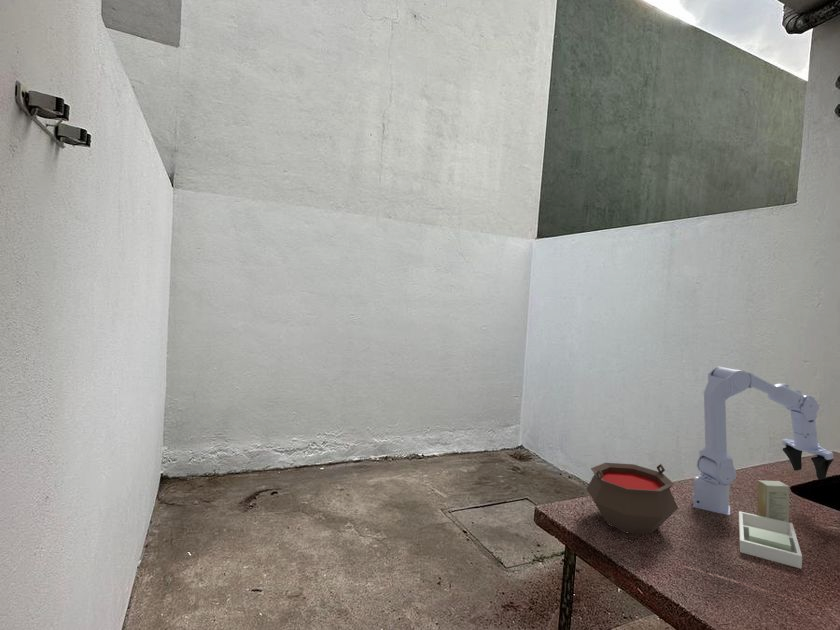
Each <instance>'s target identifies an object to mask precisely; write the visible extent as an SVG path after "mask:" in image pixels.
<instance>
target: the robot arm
mask: <svg viewBox="0 0 840 630" xmlns="http://www.w3.org/2000/svg"><path fill="white" fill-rule="evenodd" d="M752 388H753V389H755V390H758V391H761V392H763V393H765V394H767V396H768V399H770V400H771V401H773V402H775V403H777V404H780V405H781V406H783V407H785V408H786V410H788V411H789V410H790V417H791V427H792V436H793V437H792V438H793V439H791V438H790V439H789V438H783V439H782V438H781V443H782V446H784V447H783V448H782V451H783V452H784V454H785V455H786V456H787V458H788V460H789V462H790V463H791V466H792V468H793V471H796V472H798V471H801V470H802V469H803V468H802V466H803V464H802V455H803V452H805V453H807V454H808V453H809V454H811V455H815V456H813V457H810V460H811V461H812V463H813V465H814V468H815V473H816V474H815V475H816V478H817V479H818V480H820V481H822V480H825V479H826V478H827V473H828V471H829V467H830V465H831V464H832V463H833V462H834V461H835V460H834V452H832V451H829V450H827V449H825V448H823V447H821V444H819V441H818V440H819V439H818V434H817V433H818V432H817V423H816V420H817V414H818V411H819V409H820V403H818V401H817V400H816V399H815V398H814V397H812V396H810V395H806V394H803V393H802V391H801V390H797V389H793V388H790V387H789V384H787V383H783V382H782V383H774V384H772V383H770V382H769V381H767V380H765V379H763V378H761V377H759V376H758V375H755V374H754V373H751V372H748V371H745V370H740V369H734V368H729V367H725V366H716V367H714V368H712V370H711V371H709V372H708V373H707V384H706V386H705V389H704V391H703V400H704V401H703V403H704V404H703V406H704V407H703V408H704V410H703V411H704V439H705V440H704V442H705V444H704V445H705V447H704V448H703V449H701V450H699V454H698V459H697V460H696V467H697V470H698V471H699V472H700V476H697V475H695V476H694V477H693V479H694V481H693V493H692V500H693V502H692V503H693V505H692V507H693V508H697V509H701V510H703V511H709V512H713V513H717V514H720V515H721V514H722V515H726V516H731V505H729V503H730V485H732V483H733V482H734V481H735V480H736V477H737V471H736V468H735V465H734V461H733V458H732V457H731V455H730V454H729V453H728V450H727V445H728V444H727V417H726V416H727V413H726V411H727V410H726V401H727V400H728V399H729V398H731V397H733V396H735V395H737V394H739V393H742V392H744V391H746V390H747V389H752Z"/></svg>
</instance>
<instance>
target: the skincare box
mask: <svg viewBox="0 0 840 630" xmlns="http://www.w3.org/2000/svg"><path fill="white" fill-rule="evenodd" d="M756 497H757V498H756V500H757V502H756V503H757V508H756V511H757V512H756V515H758V516H763V517H767V518H771V519H776V520H780V521H784V522H789V523H790V521H789V520H790V519H789V518H790V485H788V484H785V483H784V482H782V481H780V480H765V479H763V480H762V479H761V480H759V479H758V480H757V495H756Z"/></svg>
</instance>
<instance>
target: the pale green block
mask: <svg viewBox="0 0 840 630" xmlns="http://www.w3.org/2000/svg"><path fill="white" fill-rule="evenodd" d="M749 541H750V542H754V543H758V544H762V545H766V546H770V547H774V548H777V549H781V550H785V551H789V552H790V549H791V544H790V540H789V536H788V535H784V534H780V533H775V532H771V531H767V530H763V529H759V528H755V527H751V526H749Z"/></svg>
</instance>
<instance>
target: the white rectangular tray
mask: <svg viewBox="0 0 840 630" xmlns="http://www.w3.org/2000/svg"><path fill="white" fill-rule="evenodd" d="M749 526H751V527H755V528H759V529H763V530H767V531H771V532H775V533H780V534H784V535H788V536H789V540H790V544H791V549H790V552H789V551H785V550H781V549H777V548H774V547H770V546H766V545H762V544H758V543H754V542H750V541H749ZM738 538H739V541H738V542H739V552H740V553H742V554H745V555H749V556H752V557H757V558H760V559H764V560H768V561H772V562H775V563H778V564H782V565H787V566H790V567H794V568H798V569H799V570H802V569H803V555H802V551H801V548H800V544H799V541H798V538H797V534H796V531H795V528H794V524H793V523H792V522H790V521H789V522H784V521H780V520H776V519H771V518H767V517H763V516H758V515H757V514H753V513H748V512H745V511H740V510H739V511H738Z"/></svg>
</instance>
